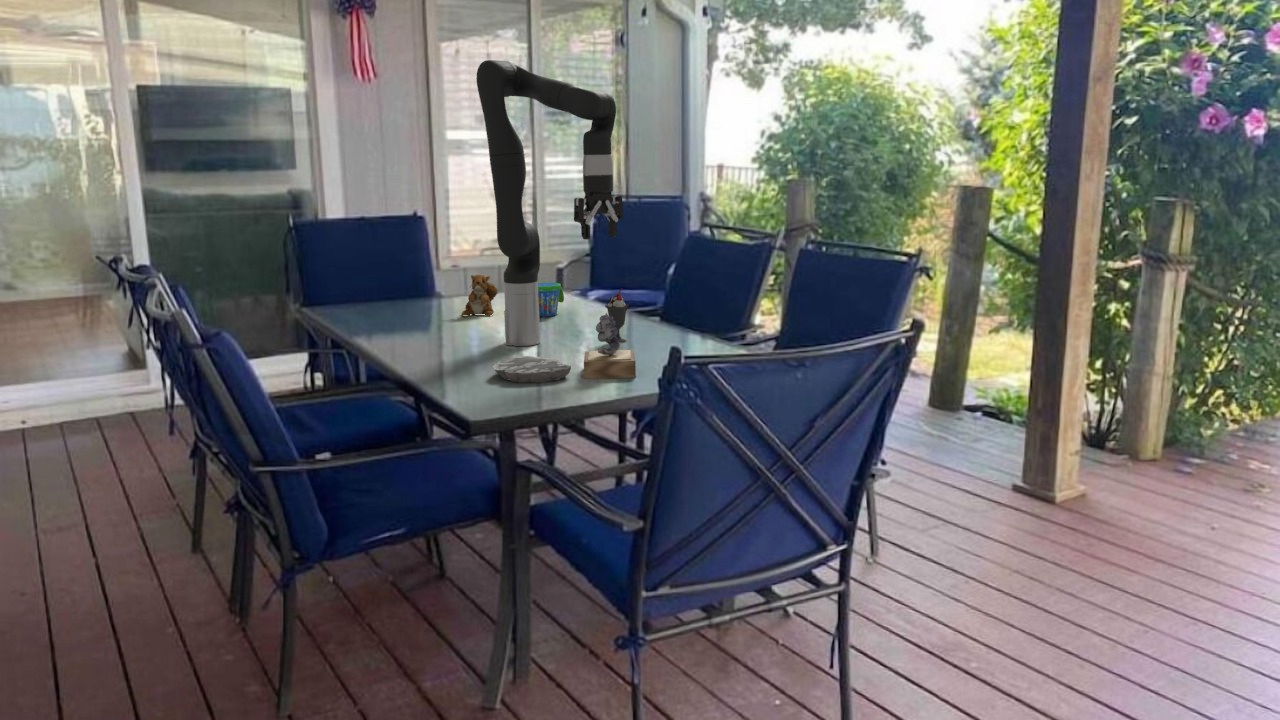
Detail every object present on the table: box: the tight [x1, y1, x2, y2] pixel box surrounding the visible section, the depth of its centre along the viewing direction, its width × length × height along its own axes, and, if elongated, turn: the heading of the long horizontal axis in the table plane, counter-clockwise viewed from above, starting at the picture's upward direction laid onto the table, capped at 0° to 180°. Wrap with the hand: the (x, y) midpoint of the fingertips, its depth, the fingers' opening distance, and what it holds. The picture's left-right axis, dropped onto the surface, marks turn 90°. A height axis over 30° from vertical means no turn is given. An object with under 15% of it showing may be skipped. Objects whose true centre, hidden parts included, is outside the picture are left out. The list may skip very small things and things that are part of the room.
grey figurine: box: [595, 312, 621, 355], centre depth 229 cm, size 5×5×10 cm
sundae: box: [604, 288, 630, 344], centre depth 267 cm, size 7×7×15 cm
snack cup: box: [538, 281, 565, 318], centre depth 312 cm, size 16×10×10 cm
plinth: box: [583, 349, 637, 380], centre depth 231 cm, size 12×12×4 cm
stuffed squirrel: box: [461, 274, 499, 316], centre depth 317 cm, size 10×14×13 cm
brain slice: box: [491, 355, 572, 384], centre depth 228 cm, size 20×17×3 cm
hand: (599, 238), depth 246 cm, fingers open, 8 cm apart
